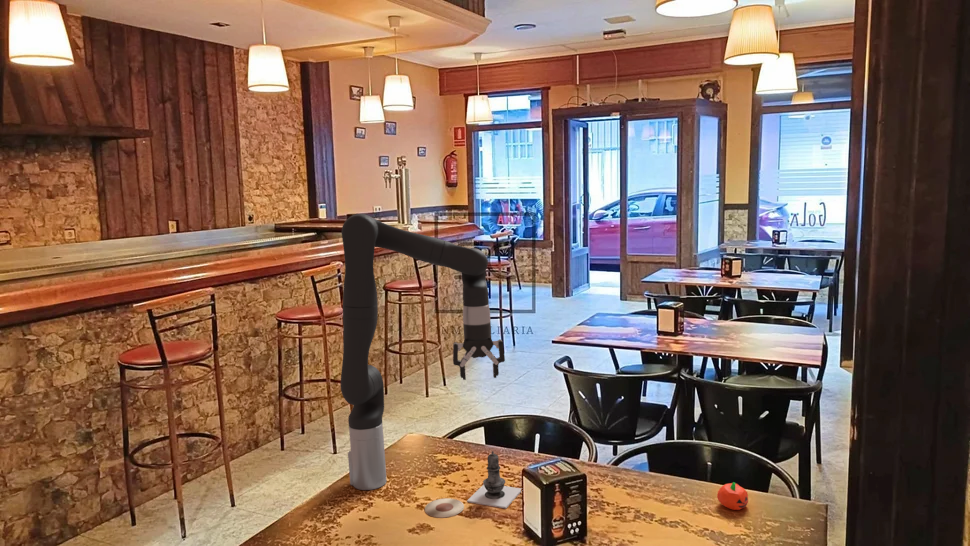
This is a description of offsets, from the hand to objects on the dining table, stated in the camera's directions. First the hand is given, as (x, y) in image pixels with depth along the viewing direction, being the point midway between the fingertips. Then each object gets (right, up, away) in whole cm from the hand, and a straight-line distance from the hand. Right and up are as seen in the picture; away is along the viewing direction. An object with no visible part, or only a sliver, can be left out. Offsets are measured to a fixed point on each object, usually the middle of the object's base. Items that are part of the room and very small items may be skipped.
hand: (479, 378), depth 187 cm
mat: (+4, -29, -10) cm, 31 cm away
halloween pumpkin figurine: (+62, -28, -22) cm, 72 cm away
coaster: (-9, -31, -16) cm, 36 cm away
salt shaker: (+4, -29, -10) cm, 31 cm away
